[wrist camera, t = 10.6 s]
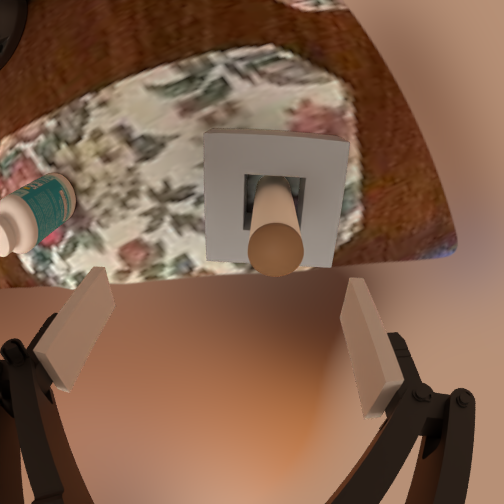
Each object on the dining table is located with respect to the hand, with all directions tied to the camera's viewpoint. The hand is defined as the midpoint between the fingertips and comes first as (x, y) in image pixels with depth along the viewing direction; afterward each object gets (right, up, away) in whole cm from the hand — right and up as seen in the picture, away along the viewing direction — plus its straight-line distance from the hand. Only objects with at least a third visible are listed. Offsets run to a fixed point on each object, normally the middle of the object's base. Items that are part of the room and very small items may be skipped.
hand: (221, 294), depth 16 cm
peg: (+4, +9, +19) cm, 22 cm away
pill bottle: (-26, +10, +21) cm, 35 cm away
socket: (+4, +9, +19) cm, 22 cm away
